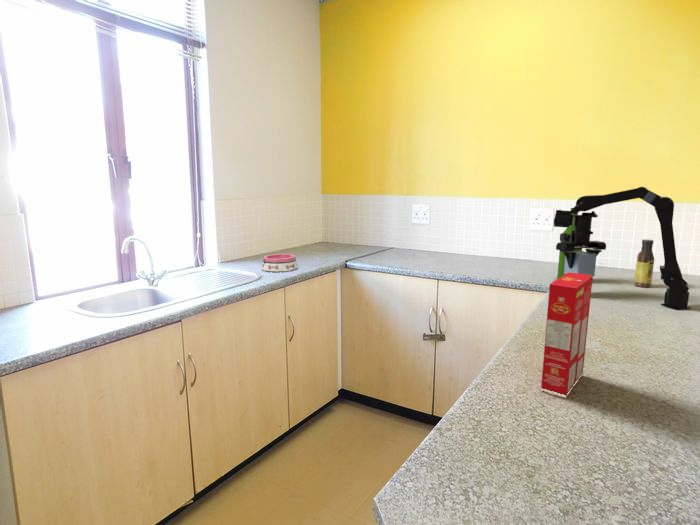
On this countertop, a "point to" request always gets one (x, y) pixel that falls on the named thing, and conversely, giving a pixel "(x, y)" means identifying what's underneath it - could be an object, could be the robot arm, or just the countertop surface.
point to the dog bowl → (279, 263)
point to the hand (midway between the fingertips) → (579, 267)
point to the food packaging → (566, 331)
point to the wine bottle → (561, 254)
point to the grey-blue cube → (582, 263)
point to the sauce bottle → (644, 265)
